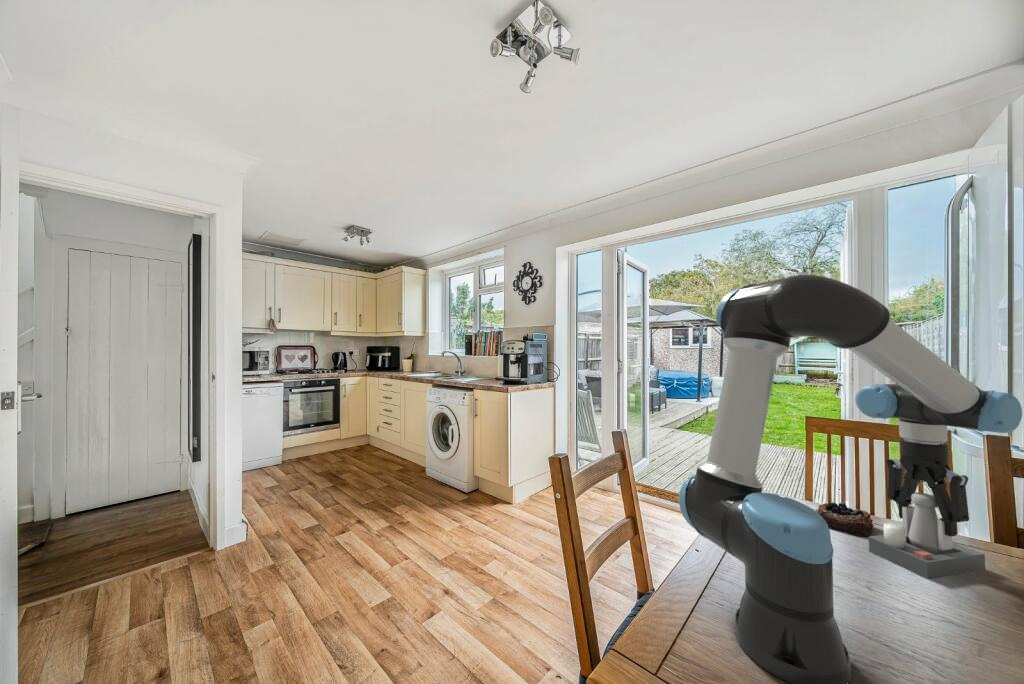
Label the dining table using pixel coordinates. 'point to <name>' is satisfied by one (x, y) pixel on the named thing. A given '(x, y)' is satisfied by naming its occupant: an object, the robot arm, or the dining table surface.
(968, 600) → the dining table surface
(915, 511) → the salt shaker
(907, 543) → the grey rimmed tray
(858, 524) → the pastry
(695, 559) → the dining table surface
